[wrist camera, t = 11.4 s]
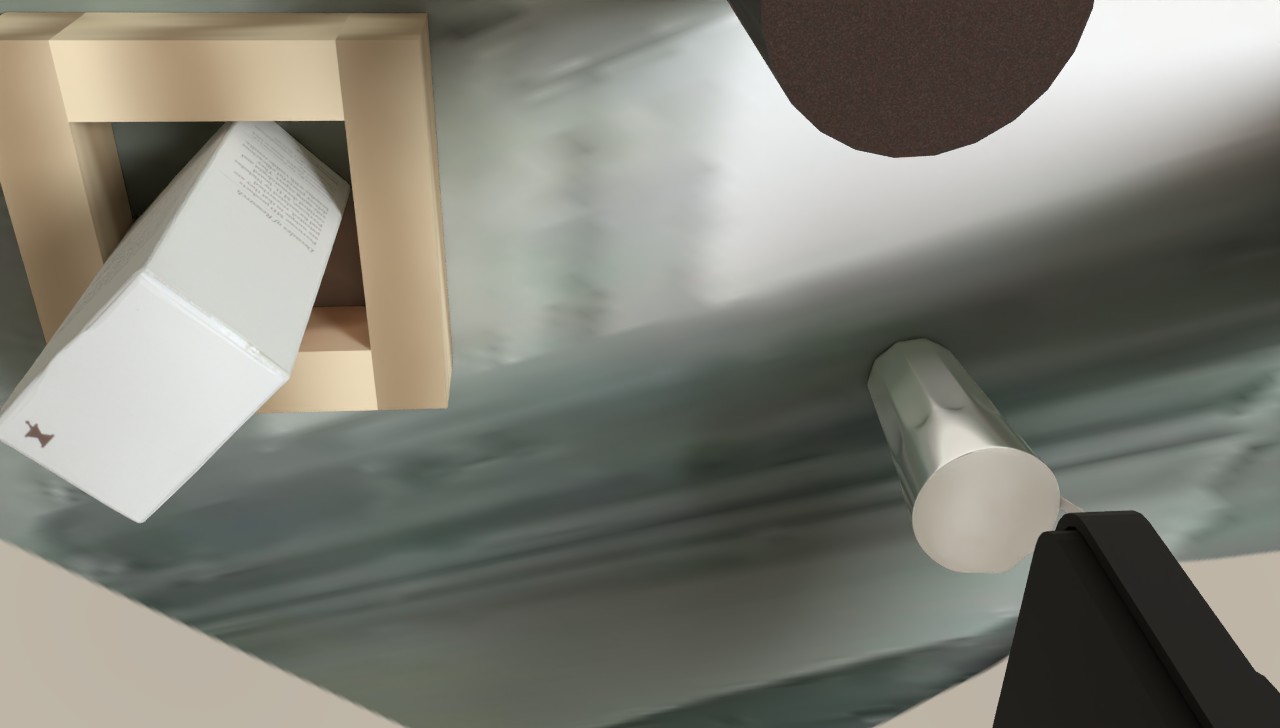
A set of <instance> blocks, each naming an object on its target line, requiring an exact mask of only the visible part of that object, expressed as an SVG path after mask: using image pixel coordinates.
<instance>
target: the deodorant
mask: <svg viewBox="0 0 1280 728" xmlns="http://www.w3.org/2000/svg"><path fill="white" fill-rule="evenodd" d="M727 1H728V3H729V4H730V6H731V8H732V9H733V11H734V12H735V14H736V16H737V17H738V19H739V20H740V22H741V24H742V25H743V27H744V28H745V30H746V32H747V33H748V35H749V36H750V38H751V40H752V41H753V43H754V44H755V46H756V48H757V49H758V51H759V52H760V54H761V56H762V57H763V59H764V60H765V62H766V64H767V65H768V67H769V69H770V70H771V72H772V73H773V75H774V77H775V78H776V80H777V81H778V83H779V85H780V86H781V88H782V89H783V91H784V93H785V94H786V96H787V97H788V99H789V101H790V102H791V104H792V105H793V106H794V107H795V108H796V109H797V110H798V111H799V112H801V113H802V114H803V115H804V116H805V117H806V118H807V119H808V120H809V121H810V122H811V123H812V124H813V125H814V126H815V127H816V128H817V129H818V130H819V131H820V132H822V133H824V134H826V135H828V136H830V137H832V138H834V139H836V140H838V141H839V142H841V143H843V144H845V145H847V146H849V147H851V148H853V149H855V150H859V151H864V152H869V153H874V154H878V155H883V156H888V157H893V158H899V157H916V156H934V155H938V154H941V153H944V152H948V151H951V150H954V149H957V148H961V147H964V146H967V145H970V144H974V143H976V142H978V141H980V140H981V139H983V138H985V137H987V136H988V135H990V134H992V133H993V132H995V131H997V130H999V129H1000V128H1002V127H1004V126H1005V125H1007V124H1009V123H1011V122H1012V121H1014V120H1015V119H1016V118H1017V117H1018V116H1020V115H1021V114H1022V113H1023V112H1024V111H1025V110H1026V109H1027V108H1028V107H1029V106H1030V105H1032V104H1033V103H1034V102H1035V101H1036V100H1037V99H1038V98H1039V97H1040V96H1041V95H1042V94H1044V93H1045V92H1046V91H1047V90H1048V89H1049V87H1050V86H1051V84H1052V83H1053V81H1054V80H1055V79H1056V77H1057V76H1058V74H1059V73H1060V72H1061V70H1062V69H1063V67H1064V66H1065V64H1066V63H1067V62H1068V60H1069V59H1070V57H1071V56H1072V55H1073V53H1074V52H1075V49H1076V47H1077V45H1078V43H1079V40H1080V38H1081V35H1082V33H1083V31H1084V28H1085V26H1086V23H1087V21H1088V19H1089V16H1090V14H1091V11H1092V9H1093V4H1094V0H727Z"/></svg>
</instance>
